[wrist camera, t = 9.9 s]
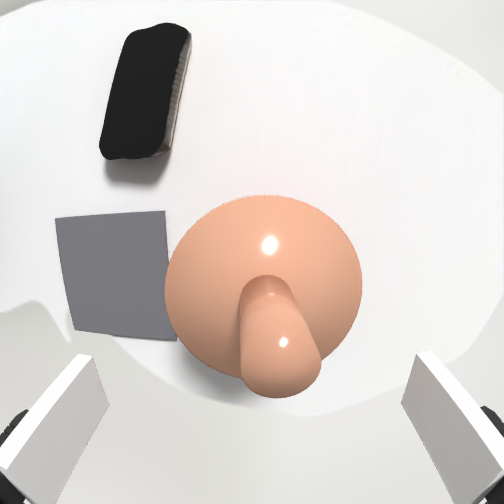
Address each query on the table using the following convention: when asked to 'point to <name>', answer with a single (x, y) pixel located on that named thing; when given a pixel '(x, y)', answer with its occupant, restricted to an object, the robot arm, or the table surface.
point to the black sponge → (146, 93)
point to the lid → (264, 291)
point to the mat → (116, 273)
